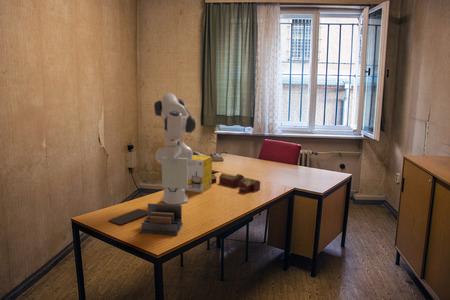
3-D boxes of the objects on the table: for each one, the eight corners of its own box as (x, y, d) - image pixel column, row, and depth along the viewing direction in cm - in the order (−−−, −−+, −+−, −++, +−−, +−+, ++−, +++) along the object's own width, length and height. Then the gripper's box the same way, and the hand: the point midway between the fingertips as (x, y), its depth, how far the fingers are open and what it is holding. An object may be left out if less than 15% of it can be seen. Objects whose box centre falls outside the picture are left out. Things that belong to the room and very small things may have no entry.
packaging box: (183, 190, 285) (183, 158, 280) (193, 184, 299) (193, 154, 294) (202, 192, 279) (203, 160, 274) (211, 187, 293) (212, 156, 288)
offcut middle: (151, 224, 212) (151, 211, 210) (173, 226, 211) (173, 213, 209) (150, 226, 210) (150, 213, 208) (172, 227, 209) (172, 214, 207)
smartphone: (106, 220, 219) (138, 208, 240) (107, 222, 220) (138, 210, 240) (120, 225, 212) (151, 212, 233) (120, 227, 213) (151, 214, 233)
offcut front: (150, 227, 208) (150, 216, 207) (171, 229, 207) (171, 217, 206) (149, 229, 206) (149, 217, 205) (170, 230, 205) (170, 218, 204)
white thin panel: (162, 186, 217) (162, 157, 213) (187, 188, 215) (187, 158, 211) (162, 187, 215) (161, 157, 211) (187, 189, 214) (187, 159, 210)
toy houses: (261, 188, 294) (262, 176, 292) (247, 194, 278) (248, 181, 276) (217, 178, 320) (217, 167, 318) (202, 183, 304) (202, 171, 302)
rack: (148, 222, 219) (147, 202, 216) (182, 225, 217) (182, 204, 214) (140, 233, 204) (139, 211, 202) (177, 235, 202) (177, 214, 200)
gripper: (173, 137, 220) (173, 159, 223) (164, 143, 200) (165, 167, 203) (184, 137, 219) (184, 160, 222) (176, 143, 199) (176, 168, 202)
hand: (174, 163), depth 212 cm, fingers closed on white thin panel, 2 cm apart
